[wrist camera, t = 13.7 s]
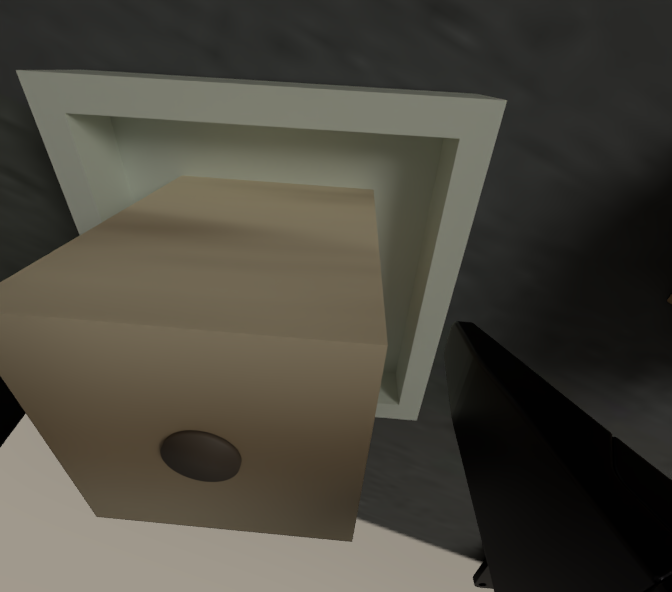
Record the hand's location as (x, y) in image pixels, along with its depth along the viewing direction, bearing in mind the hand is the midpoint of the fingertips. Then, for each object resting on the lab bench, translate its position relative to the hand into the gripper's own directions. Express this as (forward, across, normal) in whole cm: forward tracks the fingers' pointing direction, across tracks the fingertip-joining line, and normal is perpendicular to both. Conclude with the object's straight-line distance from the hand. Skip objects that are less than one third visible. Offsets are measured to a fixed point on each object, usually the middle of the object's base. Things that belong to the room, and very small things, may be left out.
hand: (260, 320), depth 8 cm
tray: (+3, 0, 0) cm, 3 cm away
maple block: (+3, 0, 0) cm, 3 cm away
